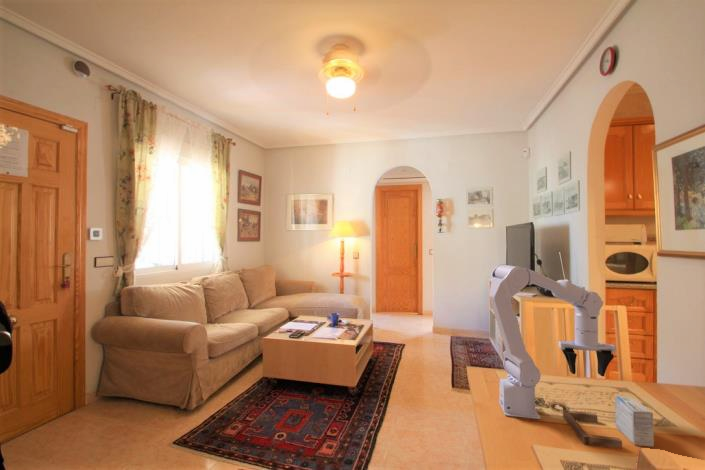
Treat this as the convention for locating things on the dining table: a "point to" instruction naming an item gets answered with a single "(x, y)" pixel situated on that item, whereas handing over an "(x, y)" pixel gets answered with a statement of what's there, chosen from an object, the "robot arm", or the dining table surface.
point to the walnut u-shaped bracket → (587, 438)
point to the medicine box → (634, 421)
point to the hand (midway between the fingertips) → (586, 373)
